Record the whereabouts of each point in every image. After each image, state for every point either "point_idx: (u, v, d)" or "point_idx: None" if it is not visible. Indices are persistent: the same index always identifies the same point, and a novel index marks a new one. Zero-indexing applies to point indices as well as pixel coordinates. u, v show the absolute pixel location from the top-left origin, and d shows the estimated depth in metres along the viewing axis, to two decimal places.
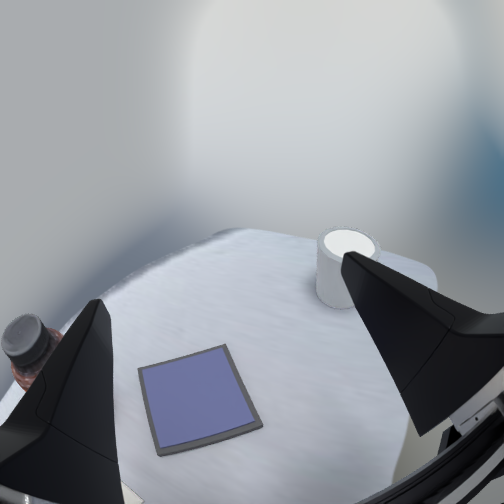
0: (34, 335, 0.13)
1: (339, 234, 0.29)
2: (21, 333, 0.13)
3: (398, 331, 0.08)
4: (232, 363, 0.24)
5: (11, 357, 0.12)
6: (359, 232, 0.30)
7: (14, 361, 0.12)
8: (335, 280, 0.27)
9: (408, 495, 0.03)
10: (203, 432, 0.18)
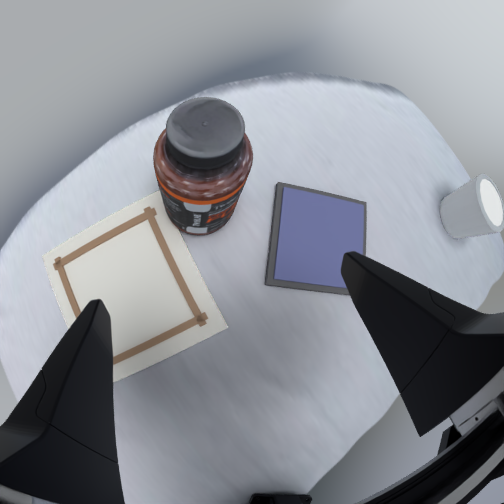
0: (235, 137, 0.13)
1: (489, 186, 0.22)
2: (209, 126, 0.13)
3: (398, 331, 0.08)
4: (364, 225, 0.25)
5: (184, 155, 0.12)
6: (500, 197, 0.22)
7: (183, 159, 0.13)
8: (466, 217, 0.24)
9: (408, 495, 0.03)
10: (318, 279, 0.23)
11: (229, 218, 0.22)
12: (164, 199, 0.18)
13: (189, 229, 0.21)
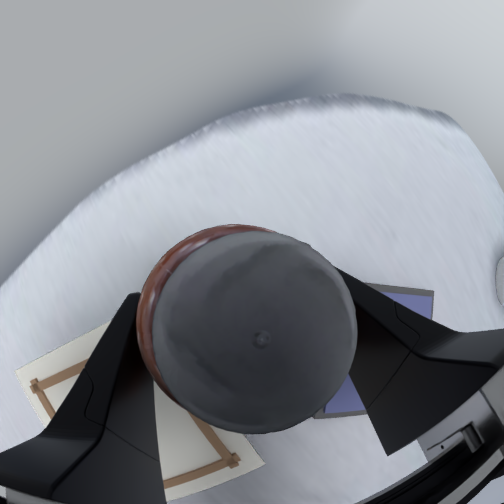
0: (339, 369, 0.05)
1: None
2: (275, 347, 0.05)
3: (360, 346, 0.07)
4: None
5: None
6: None
7: None
8: None
9: (408, 495, 0.03)
10: None
11: None
12: None
13: None
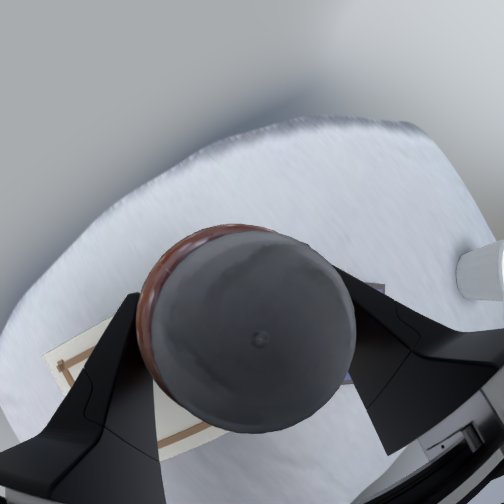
0: (337, 369, 0.05)
1: None
2: (273, 346, 0.05)
3: (361, 346, 0.07)
4: None
5: None
6: None
7: None
8: (483, 287, 0.21)
9: (408, 495, 0.03)
10: None
11: None
12: None
13: None
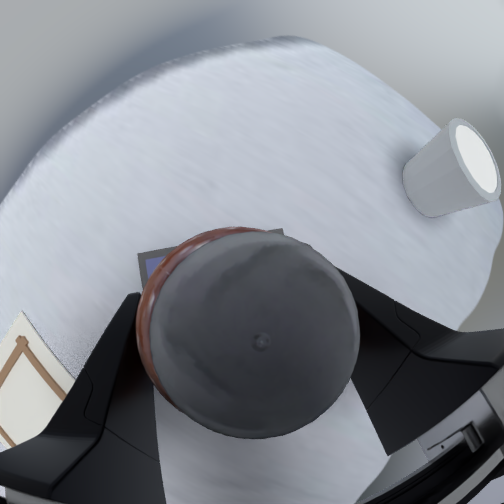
0: (341, 372, 0.05)
1: (468, 134, 0.15)
2: (275, 349, 0.05)
3: (360, 346, 0.07)
4: None
5: None
6: (485, 144, 0.15)
7: None
8: (445, 192, 0.16)
9: (408, 495, 0.03)
10: None
11: None
12: None
13: None
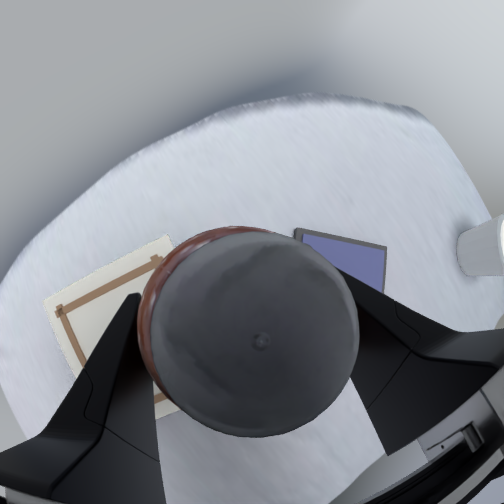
0: (340, 372, 0.05)
1: None
2: (275, 348, 0.05)
3: (360, 346, 0.07)
4: (384, 271, 0.23)
5: None
6: None
7: None
8: (483, 259, 0.22)
9: (408, 495, 0.03)
10: None
11: None
12: None
13: None
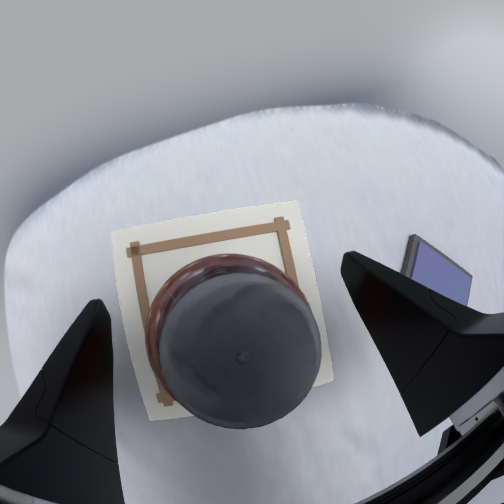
0: (304, 381, 0.06)
1: None
2: (252, 363, 0.06)
3: (398, 331, 0.08)
4: (467, 298, 0.20)
5: None
6: None
7: None
8: None
9: (408, 495, 0.03)
10: None
11: None
12: None
13: None
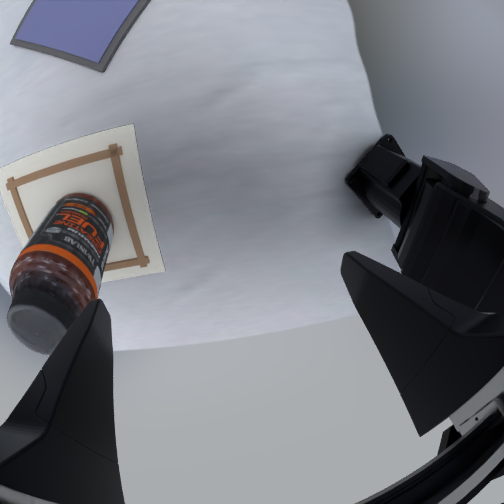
0: (38, 314, 0.10)
1: None
2: (38, 331, 0.10)
3: (398, 331, 0.08)
4: None
5: None
6: None
7: None
8: None
9: (408, 495, 0.03)
10: (123, 12, 0.11)
11: (93, 202, 0.17)
12: None
13: (111, 243, 0.19)
